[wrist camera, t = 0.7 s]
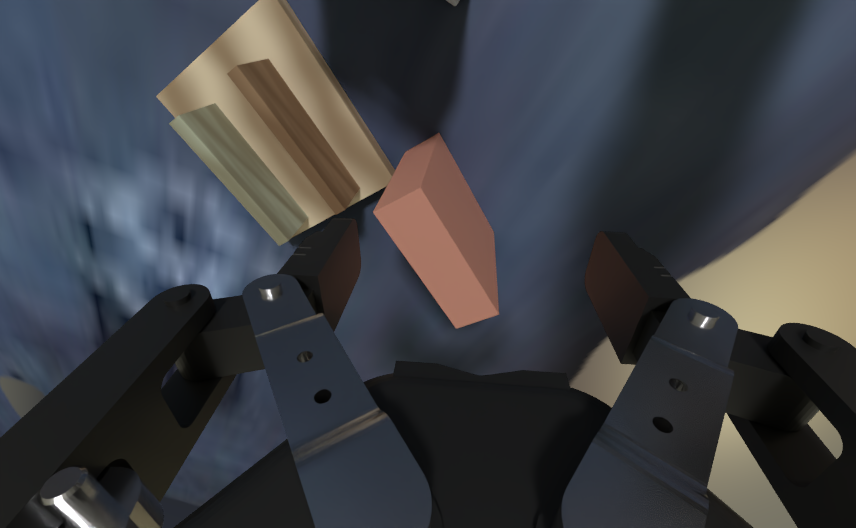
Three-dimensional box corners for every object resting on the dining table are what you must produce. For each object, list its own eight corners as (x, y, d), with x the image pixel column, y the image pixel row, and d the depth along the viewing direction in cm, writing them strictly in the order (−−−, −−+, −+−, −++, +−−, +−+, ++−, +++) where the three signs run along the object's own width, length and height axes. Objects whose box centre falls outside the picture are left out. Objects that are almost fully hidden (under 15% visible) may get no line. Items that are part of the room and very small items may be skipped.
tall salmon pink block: (439, 132, 31) (420, 187, 21) (493, 232, 36) (498, 314, 26) (405, 152, 32) (373, 212, 23) (462, 245, 37) (456, 328, 27)
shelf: (280, -10, 27) (235, -15, 22) (398, 175, 34) (384, 202, 29) (168, 93, 32) (112, 107, 27) (291, 234, 39) (263, 266, 34)
